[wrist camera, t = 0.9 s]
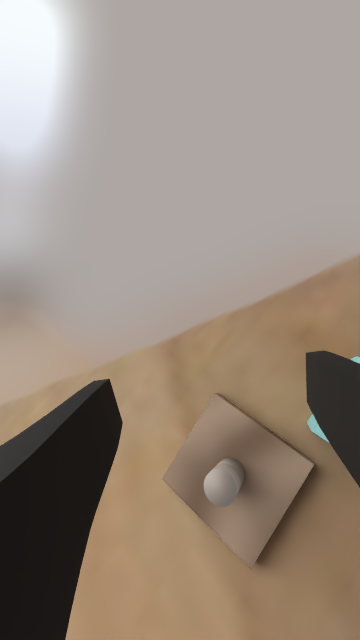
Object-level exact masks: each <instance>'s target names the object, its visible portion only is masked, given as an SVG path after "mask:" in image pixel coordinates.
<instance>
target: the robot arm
mask: <svg viewBox="0 0 360 640" xmlns="http://www.w3.org/2000/svg"><path fill="white" fill-rule="evenodd" d="M306 381H307V403H308V405H309V407H310V409H311V411H312V413H313V415H314V417H315V419H316V421H317V423H318V425H319V427H320V429H321V430H322V432H323V433H324V435H325V436H326V438H327V439H328V441H329V442H330V444H331V446H332V447H333V449H334V450H335V452H336V453H337V454H338V456H339V457H340V459H341V460H342V462H343V463H344V465H345V466H346V468H347V469H348V471H349V472H350V474H351V475H352V477H353V478H354V480H355V481H356V483H357V484H358V486H359V487H360V363H357V362H355V361H352V360H350V359H347V358H344V357H342V356H339V355H336V354H334V353H331V352H327V351H317V352H309V353H306ZM122 424H123V423H122V419H121V416H120V412H119V409H118V406H117V402H116V399H115V396H114V392H113V389H112V386H111V382H110V379H105V380H98V381H93V382H92V383H90V384H88V385H87V386H85V387H84V388H82V389H81V390H80V391H78V392H77V393H75V394H74V395H73V396H71V397H70V398H69V399H67V400H66V401H65V402H63V403H62V404H61V405H59V406H58V407H57V408H55V409H54V410H53V411H51V412H50V413H48V414H47V415H46V416H44V417H43V418H41V419H40V420H39V421H37V422H36V423H34V424H33V425H31V426H30V427H28V428H27V429H26V430H24V431H23V432H21V433H20V434H18V435H17V436H15V437H14V438H12V439H11V440H9V441H8V442H6V443H4V444H3V445H1V446H0V640H65V638H66V633H67V628H68V623H69V618H70V613H71V609H72V604H73V600H74V596H75V591H76V587H77V582H78V578H79V574H80V569H81V565H82V561H83V557H84V553H85V549H86V545H87V541H88V537H89V533H90V529H91V526H92V522H93V519H94V516H95V513H96V510H97V507H98V504H99V501H100V498H101V495H102V493H103V490H104V487H105V484H106V481H107V478H108V475H109V472H110V470H111V467H112V464H113V461H114V458H115V455H116V452H117V448H118V444H119V439H120V434H121V429H122Z"/></svg>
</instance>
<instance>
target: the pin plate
mask: <svg viewBox="0 0 360 640" xmlns="http://www.w3.org/2000/svg"><path fill="white" fill-rule="evenodd" d="M313 466H314V463H313V461H312V460H310V459H309V458H308V457H306V456H305V455H303V454H302V453H301V452H299V451H298V450H296V449H295V448H294V447H292V446H291V445H290V444H288V443H287V442H285V441H284V440H283V439H281V438H280V437H278V436H277V435H276V434H274V433H273V432H271V431H270V430H269V429H267V428H266V427H264V426H263V425H262V424H260V423H259V422H257V421H256V420H255V419H253V418H252V417H250V416H249V415H248V414H246V413H245V412H243V411H242V410H241V409H239V408H238V407H236V406H235V405H234V404H232V403H231V402H229V401H228V400H227V399H225V398H224V397H222V396H221V395H220V394H218V393H215V394H214V395H213V397H212V399H211V400H210V402H209V403H208V405H207V407H206V408H205V410H204V412H203V413H202V415H201V416H200V418H199V420H198V421H197V423H196V425H195V426H194V428H193V429H192V431H191V433H190V434H189V436H188V438H187V439H186V441H185V442H184V444H183V446H182V447H181V449H180V450H179V452H178V454H177V455H176V457H175V459H174V460H173V462H172V463H171V465H170V467H169V468H168V470H167V472H166V473H165V475H164V476H163V478H162V480H163V481H164V482H165V483H166V484H167V485H168V486H169V487H170V488H171V489H172V490H173V491H174V492H175V493H176V494H177V495H178V496H179V497H180V498H181V499H182V500H183V501H184V502H185V503H186V504H187V505H188V506H189V507H190V508H191V509H192V510H193V511H194V512H195V513H196V514H197V515H198V516H199V517H200V518H201V519H202V520H203V521H204V522H205V523H206V524H207V525H208V526H209V527H210V528H211V529H212V530H213V531H214V532H215V533H216V534H217V535H218V536H219V537H220V538H221V540H222V541H223V542H224V543H225V544H226V545H227V546H228V547H229V548H230V549H231V550H232V551H233V552H234V553H235V554H236V555H237V556H238V557H239V558H240V559H241V560H242V561H243V562H244V563H245V564H246V565H247V566H248V567H249V568H250V569H251V568H252V566H253V565H254V563H255V561H256V560H257V558H258V556H259V555H260V553H261V551H262V550H263V548H264V546H265V545H266V543H267V542H268V540H269V538H270V537H271V535H272V533H273V532H274V530H275V528H276V527H277V525H278V523H279V522H280V520H281V518H282V517H283V515H284V514H285V512H286V510H287V509H288V507H289V505H290V504H291V502H292V500H293V499H294V497H295V495H296V494H297V492H298V490H299V489H300V487H301V486H302V484H303V482H304V481H305V479H306V477H307V476H308V474H309V472H310V471H311V469H312V467H313Z"/></svg>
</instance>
